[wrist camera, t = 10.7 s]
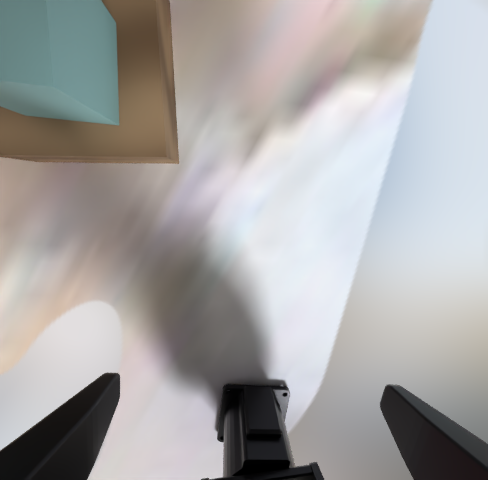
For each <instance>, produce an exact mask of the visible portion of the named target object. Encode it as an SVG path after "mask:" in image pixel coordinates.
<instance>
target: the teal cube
mask: <svg viewBox="0 0 488 480" xmlns="http://www.w3.org/2000/svg"><path fill="white" fill-rule="evenodd" d="M0 106H1V107H4V108H6V109H9V110H12V111H14V112H17V113H20V114H23V115H25V116H34V117H44V118H53V119H63V120H72V121H82V122H91V123H101V124H110V125H119V97H118V65H117V33H116V22H115V20H114V19H113V17H112V16H111V14H110V13H109V11H108V10H107V8H106V7H105V5H104V4H103V2H102V1H101V0H0Z"/></svg>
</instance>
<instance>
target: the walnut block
mask: <svg viewBox="0 0 488 480" xmlns="http://www.w3.org/2000/svg"><path fill="white" fill-rule="evenodd" d="M101 1H102V2H103V4H104V5H105V7H106V8H107V10H108V11H109V13H110V14H111V16H112V17H113V19H114V20H115V22H116V33H117V65H118V97H119V125H110V124H101V123H91V122H82V121H72V120H63V119H53V118H44V117H34V116H25V115H23V114H20V113H17V112H14V111H12V110H9V109H6V108H4V107H1V106H0V157H6V158H13V159H20V160H28V161H35V162H85V163H177V164H179V155H178V138H177V120H176V103H175V86H174V69H173V52H172V34H171V17H170V3H169V0H101Z"/></svg>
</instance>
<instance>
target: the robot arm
mask: <svg viewBox="0 0 488 480" xmlns="http://www.w3.org/2000/svg"><path fill="white" fill-rule="evenodd" d="M227 390H230V391H227ZM284 392H285V393H284ZM289 397H290V392H289V389H288V388H287V387H281V386H255V385H230V384H228V385H225V386H224V387H223V392H222V400H221V409H220V417H219V426H218V434H217V439H218V441H220V442H224V458H223V478H216V479H209V478H204V479H201V480H324V478H323V476H322V473H321V471H320V469H319V466H318V464H317V462H313V463H310V465H304V466H297V467H295V463H294V459H293V455H292V451H291V447H290V443H289V439H288V435H287V431H286V426H285V417H286V412H287V407H288V402H289ZM119 398H120V375H119V374H118V373H105V374H103V375H102V376H100V377H99V378H97V379H96V380H95V381H94V382H92V383H91V384H89V385H88V386H87V387H85V388H84V389H83V390H81V391H80V392H79V393H77V394H76V395H75V396H73V397H72V398H71V399H69V400H68V401H67V402H66V403H64V404H63V405H61V406H60V407H58V408H57V409H56V410H55V411H53V412H52V413H50V414H49V415H48V416H46V417H45V418H44V419H42V420H41V421H40V422H38V423H37V424H36V425H34V426H33V427H32V428H30V429H29V430H28V431H26V432H25V433H24V434H22V435H21V436H20V437H18V438H17V439H15V440H14V441H13V442H11V443H10V444H9V445H7V446H6V447H5V448H3V449H2V450H1V451H0V480H87V479H88V477H89V474H90V472H91V470H92V468H93V466H94V463H95V461H96V459H97V456H98V454H99V451H100V448H101V446H102V443H103V441H104V438H105V436H106V433H107V430H108V428H109V425H110V423H111V420H112V417H113V415H114V412H115V410H116V407H117V405H118V402H119ZM380 407H381V411H382V413H383V416H384V418H385V420H386V422H387V424H388V426H389V429H390V431H391V433H392V435H393V437H394V440H395V442H396V444H397V446H398V448H399V450H400V453H401V455H402V457H403V459H404V461H405V463H406V465H407V467H408V469H409V471H410V473H411V475H412V477H413V479H414V480H488V444H487V443H486V442H484V441H483V440H481V439H479V438H478V437H477V436H475V435H473V434H472V433H471V432H469V431H468V430H466V429H465V428H463V427H462V426H460V425H458V424H457V423H456V422H454V421H452V420H451V419H450V418H448V417H446V416H445V415H444V414H442V413H440V412H439V411H437V410H436V409H434V408H433V407H431V406H430V405H428V404H427V403H425V402H424V401H422V400H421V399H419V398H418V397H416V396H415V395H413V394H412V393H410V392H409V391H407V390H406V389H404V388H403V387H401V386H399V385H390V384H389V385H387V386H385V389H384V392H383V395H382V399H381V402H380Z"/></svg>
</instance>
